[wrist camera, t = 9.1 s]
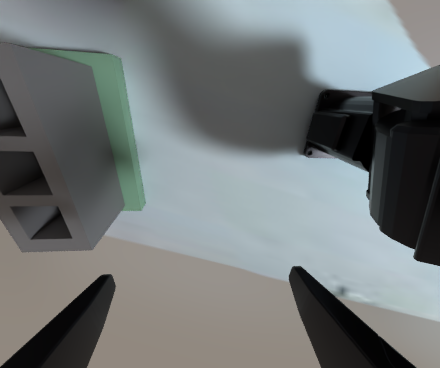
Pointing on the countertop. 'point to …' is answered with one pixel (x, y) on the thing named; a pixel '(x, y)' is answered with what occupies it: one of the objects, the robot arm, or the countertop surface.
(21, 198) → the grey cinder block
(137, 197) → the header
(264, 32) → the countertop surface
